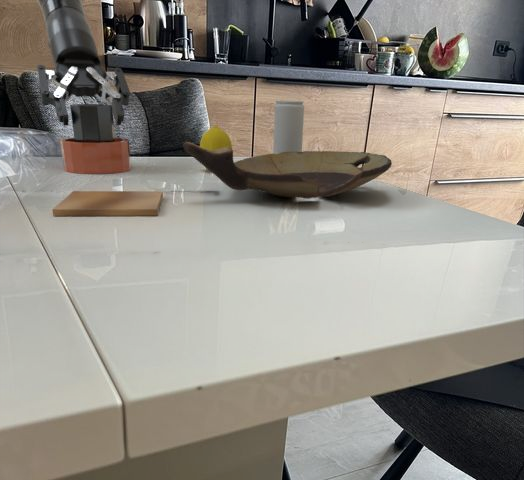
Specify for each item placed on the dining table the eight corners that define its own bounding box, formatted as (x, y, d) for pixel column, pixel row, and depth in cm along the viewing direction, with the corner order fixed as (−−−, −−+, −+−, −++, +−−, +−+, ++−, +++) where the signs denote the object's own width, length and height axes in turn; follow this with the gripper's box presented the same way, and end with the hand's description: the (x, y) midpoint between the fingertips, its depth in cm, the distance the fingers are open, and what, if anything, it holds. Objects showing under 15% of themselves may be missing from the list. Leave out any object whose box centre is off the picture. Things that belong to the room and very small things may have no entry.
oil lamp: (417, 209, 71) (426, 147, 68) (185, 211, 68) (182, 145, 64) (365, 182, 91) (370, 132, 88) (184, 182, 87) (182, 130, 84)
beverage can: (269, 178, 92) (271, 100, 87) (275, 174, 97) (278, 100, 91) (297, 180, 91) (301, 101, 86) (302, 176, 96) (306, 101, 90)
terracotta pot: (58, 178, 88) (53, 142, 85) (72, 169, 97) (68, 136, 95) (127, 179, 89) (124, 143, 87) (134, 169, 99) (131, 137, 96)
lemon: (196, 173, 96) (195, 124, 92) (226, 172, 98) (226, 124, 94) (205, 178, 91) (203, 126, 88) (236, 177, 93) (236, 126, 90)
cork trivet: (53, 216, 64) (52, 209, 63) (73, 197, 74) (73, 191, 74) (157, 215, 65) (156, 209, 65) (163, 197, 76) (162, 191, 75)
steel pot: (75, 171, 90) (67, 105, 85) (82, 166, 95) (75, 103, 91) (114, 172, 90) (108, 105, 86) (119, 166, 96) (113, 104, 92)
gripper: (27, 23, 87) (47, 104, 83) (116, 28, 93) (139, 105, 89) (29, 61, 94) (47, 138, 90) (112, 64, 100) (133, 137, 96)
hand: (93, 121), depth 89 cm, fingers open, 8 cm apart
